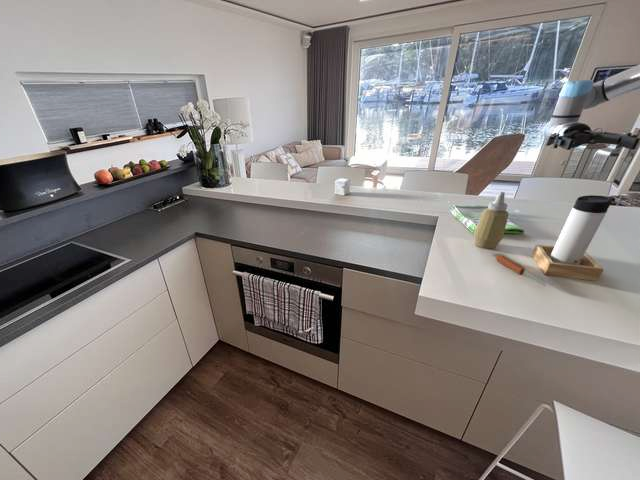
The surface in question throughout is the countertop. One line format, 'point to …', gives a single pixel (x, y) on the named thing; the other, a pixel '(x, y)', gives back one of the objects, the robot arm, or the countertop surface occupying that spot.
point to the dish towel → (478, 218)
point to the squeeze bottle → (492, 224)
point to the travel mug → (580, 228)
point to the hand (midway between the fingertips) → (602, 144)
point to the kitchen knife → (517, 268)
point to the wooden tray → (566, 265)
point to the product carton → (342, 186)
